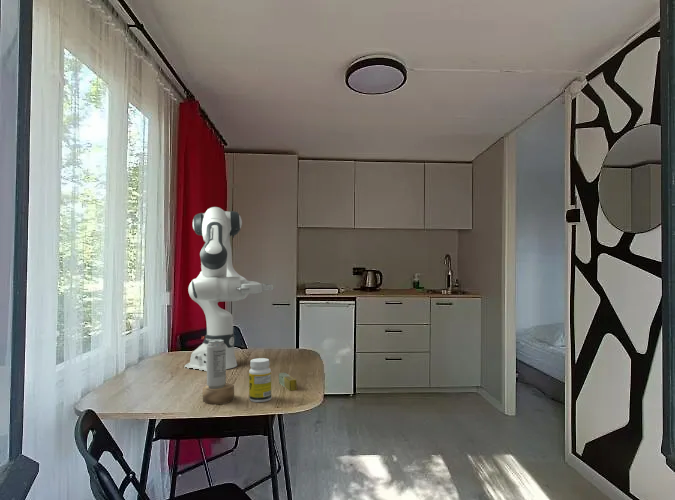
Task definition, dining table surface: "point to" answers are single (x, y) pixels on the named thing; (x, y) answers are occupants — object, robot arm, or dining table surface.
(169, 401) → the dining table surface
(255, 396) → the supplement bottle
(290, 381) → the medication box
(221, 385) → the energy drink can
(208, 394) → the wooden bowl
